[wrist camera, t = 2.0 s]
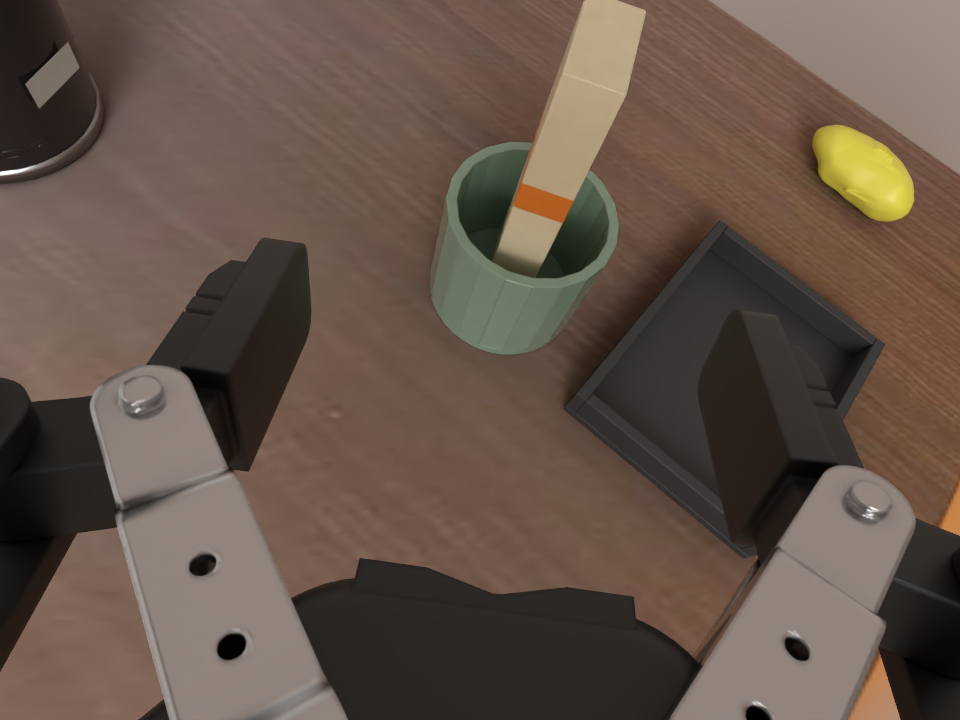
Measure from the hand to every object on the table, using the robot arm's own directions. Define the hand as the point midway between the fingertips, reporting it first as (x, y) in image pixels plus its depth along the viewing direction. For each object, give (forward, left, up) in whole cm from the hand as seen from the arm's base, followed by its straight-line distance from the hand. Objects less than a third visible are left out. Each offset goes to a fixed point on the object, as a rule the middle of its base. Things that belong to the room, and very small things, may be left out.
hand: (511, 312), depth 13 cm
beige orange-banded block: (-10, +9, -20) cm, 24 cm away
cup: (-10, +9, -20) cm, 24 cm away
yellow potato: (-9, +36, -21) cm, 42 cm away
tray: (0, +19, -20) cm, 28 cm away
